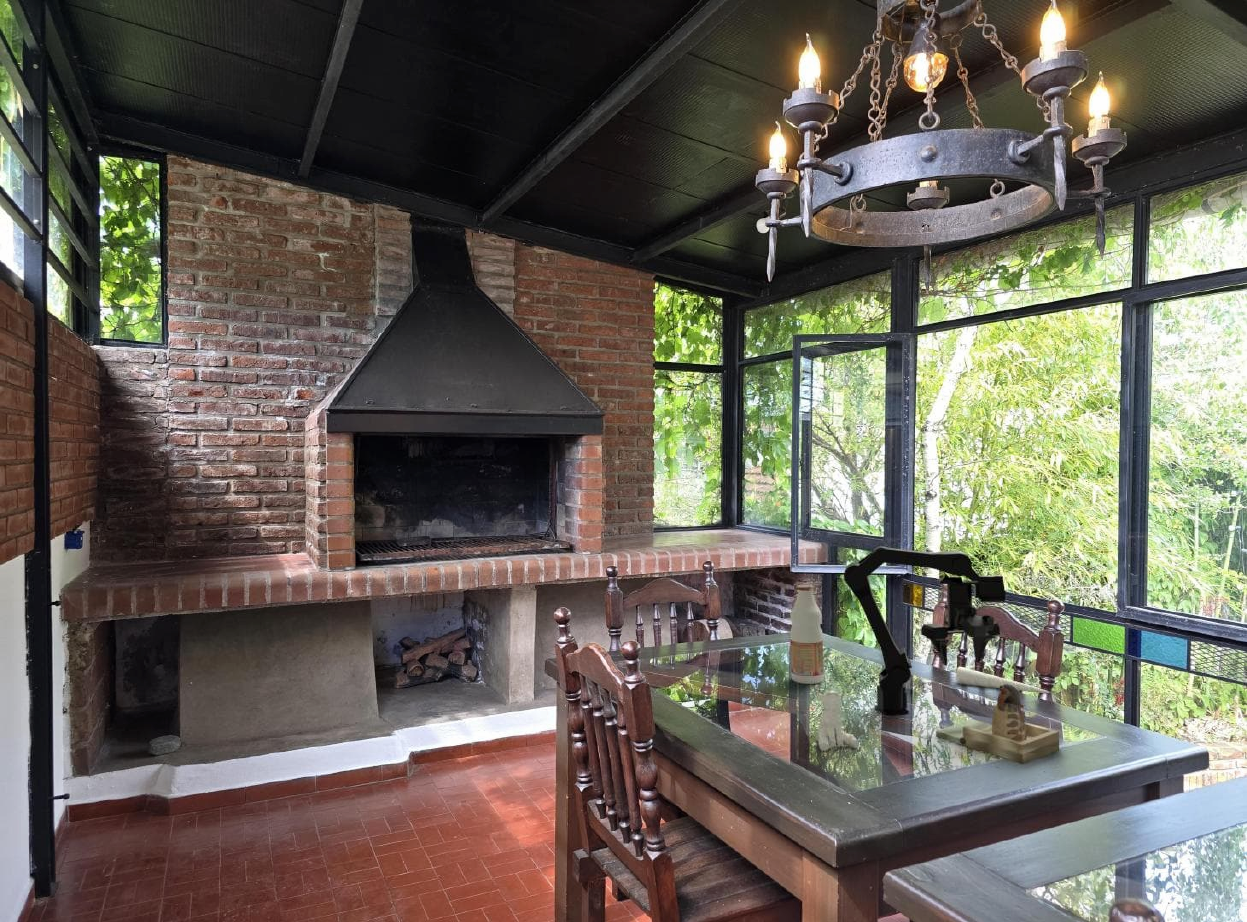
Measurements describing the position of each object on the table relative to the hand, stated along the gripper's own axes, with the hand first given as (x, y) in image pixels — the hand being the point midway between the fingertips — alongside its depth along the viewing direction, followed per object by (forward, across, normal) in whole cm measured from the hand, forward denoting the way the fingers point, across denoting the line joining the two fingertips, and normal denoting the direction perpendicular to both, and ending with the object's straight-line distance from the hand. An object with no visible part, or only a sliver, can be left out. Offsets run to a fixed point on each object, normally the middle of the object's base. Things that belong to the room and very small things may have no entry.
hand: (961, 663), depth 196 cm
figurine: (+11, -3, -22) cm, 25 cm away
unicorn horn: (+14, +24, +19) cm, 34 cm away
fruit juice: (+13, -24, +40) cm, 48 cm away
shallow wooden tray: (+13, -4, -19) cm, 23 cm away
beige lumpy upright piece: (+13, -40, -10) cm, 43 cm away
